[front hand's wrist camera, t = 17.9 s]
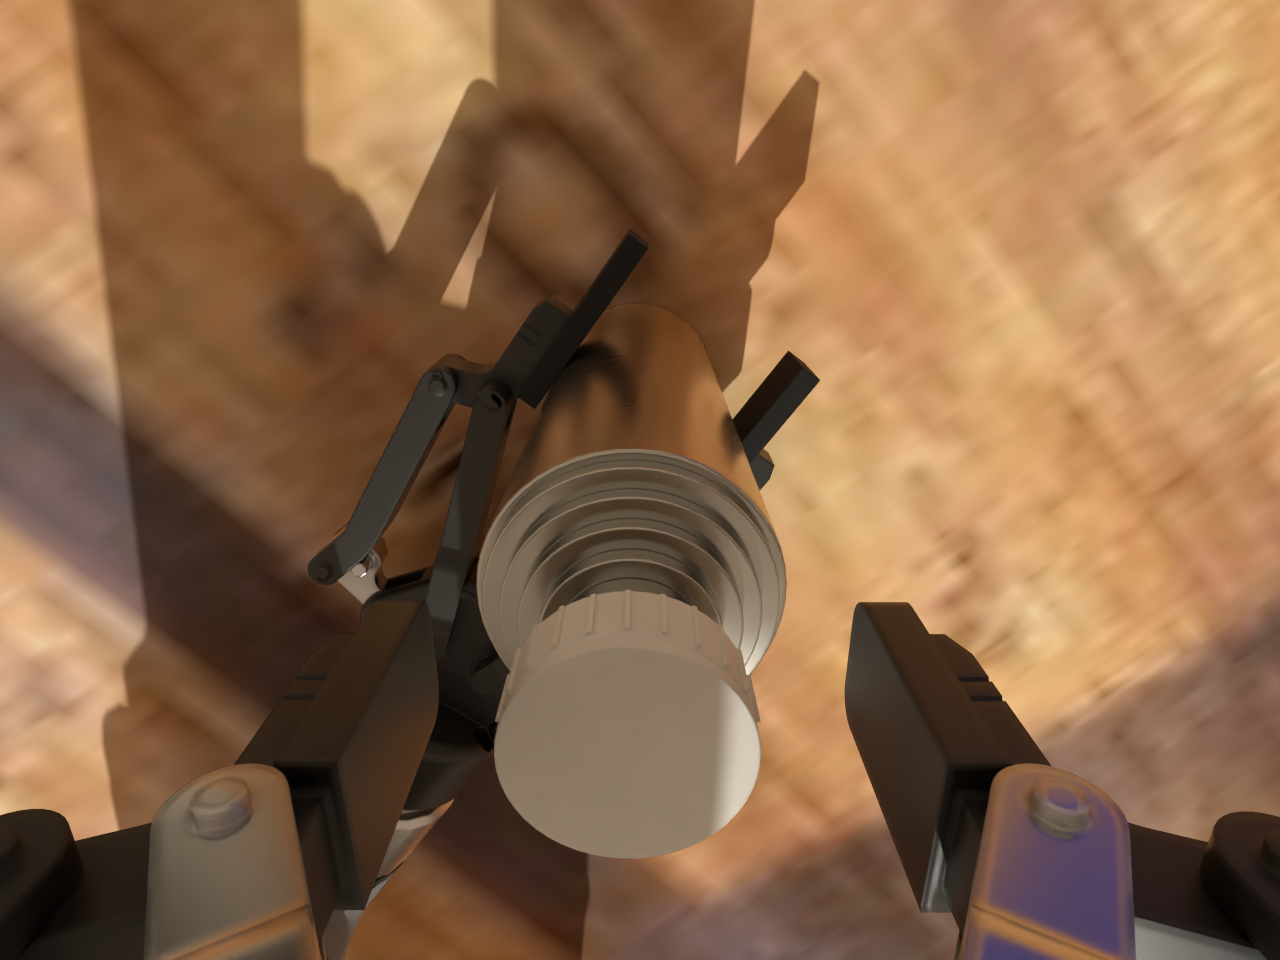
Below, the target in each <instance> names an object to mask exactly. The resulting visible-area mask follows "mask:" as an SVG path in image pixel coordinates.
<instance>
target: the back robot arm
mask: <svg viewBox="0 0 1280 960" xmlns="http://www.w3.org/2000/svg"><path fill="white" fill-rule="evenodd" d="M647 249H648V244H647V242H646V241H645V240H644V239H642V238H641V237H640V236H638V235H637V234H636V233H634V232H633V231H632V230H629V231H628V232H627V234H626V235H625V237H624V238H623V240H622V241H621V243H620V244H619V246H618V247H617V248H616V250H615V251H614V253H613V254H612V256H611V257H610V259H609V260H608V261H607V263H606V264H605V266H604V267H603V269H602V270H601V272H600V273H599V274H598V276H597V277H596V279H595V280H594V282H593V283H592V285H591V286H590V288H589V289H588V290H587V292H586V293H585V295H584V296H583V298H582V299H581V301H580V302H579V303H578V305H577V306H576V308H575V309H574V311H572V310H571V309H570V308H568V307H567V306H566V305H564V304H563V303H561V302H560V301H559V300H557V299H556V298H554V297H553V296H552V295H550V296H549V297H547V298H546V299H544V300H542V301H541V302H539V303H538V304H537V305H536V307H535V308H534V309H533V310H532V312H531V313H530V315H529V316H528V318H527V319H526V321H525V322H524V324H523V325H522V327H521V328H520V330H519V331H518V333H517V334H516V336H515V337H514V339H513V340H512V342H511V343H510V344H509V346H508V347H507V349H506V350H505V352H504V353H503V355H502V356H501V358H500V359H499V361H497V362H496V363H493V364H490V365H481V364H477V363H473V362H470V361H467V360H466V359H464V358H463V357H462V356H460V355H457V354H448V355H446V356H444V357H442V358H441V359H440V360H439V361H438V362H437V363H436V364H434V365H433V366H432V367H431V368H430V369H429V370H428V371H426V372H425V374H424V375H423V376H422V378H421V380H420V382H419V384H418V386H417V388H416V390H415V392H414V393H413V395H412V397H411V399H410V401H409V403H408V405H407V407H406V409H405V411H404V413H403V415H402V417H401V419H400V421H399V423H398V425H397V427H396V429H395V431H394V433H393V435H392V437H391V439H390V441H389V443H388V445H387V447H386V449H385V451H384V453H383V455H382V457H381V459H380V461H379V463H378V465H377V467H376V469H375V471H374V473H373V475H372V477H371V479H370V481H369V483H368V485H367V487H366V489H365V491H364V493H363V495H362V497H361V499H360V501H359V503H358V505H357V507H356V509H355V511H354V513H353V515H352V517H351V519H350V521H349V522H347V523H346V524H345V525H344V526H343V527H342V528H340V529H339V530H338V531H337V532H336V533H335V534H334V535H333V536H332V537H331V538H330V540H329V541H328V542H327V543H326V544H325V545H324V546H323V548H322V549H321V550H320V551H319V552H318V553H317V554H316V556H315V557H314V558H313V559H312V560H311V562H310V563H309V565H308V572H309V575H310V576H311V578H312V579H313V580H314V581H316V582H317V583H320V584H323V585H329V584H333V583H335V582H336V581H338V582H339V583H340V584H342V585H343V586H344V587H345V588H346V589H347V590H348V591H349V592H350V593H351V594H352V595H353V596H355V597H356V598H357V599H358V600H359V601H360V602H361V603H362V604H363V606H362V609H361V614H360V619H361V623H362V621H363V620H364V618H365V617H366V615H367V613H368V612H369V610H370V609H371V607H372V606H373V604H374V603H375V602H377V601H424V602H426V603H427V605H428V607H429V610H430V615H431V623H432V632H433V640H434V648H435V657H436V665H437V674H438V683H439V703H438V711H437V717H436V721H435V725H434V728H433V730H432V733H431V736H430V738H429V741H428V744H427V746H426V749H425V752H424V754H423V757H422V759H421V762H420V765H419V767H418V770H417V773H416V775H415V778H414V781H413V783H412V786H411V788H410V791H409V794H408V796H407V799H406V802H405V804H404V807H403V810H402V812H401V815H400V817H399V820H398V823H397V825H396V828H395V831H394V833H393V836H392V839H391V841H390V844H389V846H388V849H387V852H386V854H385V857H384V860H383V862H382V865H381V868H380V870H379V873H378V875H377V878H376V881H375V883H374V886H373V889H372V891H371V894H370V897H369V899H368V902H367V905H366V907H367V906H368V905H369V903H370V902H371V901H372V900H373V898H374V897H375V896H376V895H377V893H378V892H379V891H380V890H381V888H382V887H383V886H384V885H385V883H386V882H387V881H388V880H389V878H390V877H391V876H392V875H393V874H394V872H395V871H396V870H397V869H398V868H399V867H400V865H401V864H402V863H403V862H404V860H405V859H406V858H407V857H408V855H409V854H410V853H411V852H412V851H413V850H414V848H415V847H416V846H417V845H418V844H419V842H420V841H421V840H422V839H423V838H424V837H425V835H426V834H427V833H428V832H429V831H430V829H431V828H432V827H433V826H434V825H435V823H436V822H437V821H438V820H439V819H440V818H441V816H442V815H443V814H444V813H445V812H446V810H447V809H448V808H449V807H450V806H451V804H452V803H453V801H454V799H455V798H456V797H457V796H458V795H459V794H460V793H461V792H462V791H463V790H464V789H465V787H466V786H467V785H468V784H469V783H470V781H471V780H472V779H473V778H474V776H475V775H476V774H477V773H478V772H479V770H480V769H481V768H482V767H483V766H484V764H485V763H486V762H487V761H488V760H489V758H490V757H491V756H492V755H493V754H494V740H495V735H496V730H497V726H498V722H495V719H496V715H497V711H498V707H499V704H500V700H501V696H502V693H503V689H504V685H505V682H506V678H507V675H508V674H510V671H509V669H508V668H507V667H506V666H505V664H504V663H503V661H502V660H501V658H500V656H499V655H498V653H497V651H496V650H495V648H494V645H493V644H492V642H491V640H490V638H489V636H488V633H487V631H486V629H485V626H484V624H483V621H482V618H481V614H480V610H479V606H478V599H477V590H476V579H477V566H478V561H479V557H478V554H479V550H480V546H481V543H482V539H483V534H484V527H485V523H486V519H487V515H488V512H489V508H490V504H491V500H492V496H493V492H494V488H495V484H496V481H497V477H498V473H499V469H500V465H501V461H502V457H503V453H504V449H505V446H506V442H507V438H508V434H509V430H510V426H511V422H512V418H513V415H514V411H515V407H516V403H517V399H518V398H520V399H521V400H523V401H524V402H526V403H527V404H529V405H530V406H532V407H533V408H536V407H537V405H538V404H539V402H540V401H541V400H542V398H543V397H544V395H545V394H546V393H547V391H548V390H549V388H550V387H551V385H552V384H553V383H554V381H555V380H556V378H557V377H558V376H559V374H560V373H561V371H562V370H563V368H564V367H565V366H566V364H567V363H568V361H569V360H570V358H571V357H572V356H573V354H574V353H575V351H576V350H577V349H578V347H579V346H580V344H581V343H582V341H583V340H584V339H585V337H586V336H587V334H588V333H589V332H590V330H591V329H592V327H593V326H594V324H595V323H596V322H597V320H598V319H599V317H600V316H601V315H602V313H603V312H604V310H605V309H606V307H607V306H608V305H609V303H610V302H611V300H612V299H613V298H614V296H615V295H616V293H617V292H618V290H619V289H620V288H621V286H622V285H623V283H624V282H625V281H626V279H627V278H628V276H629V275H630V273H631V272H632V271H633V269H634V268H635V266H636V265H637V263H638V262H639V261H640V259H641V258H642V256H643V255H644V254H645V252H646V251H647ZM819 381H820V380H819V379H818V377H817V376H816V375H815V374H814V373H813V372H812V371H811V370H810V369H809V368H808V367H807V365H806V364H805V363H804V362H802V361H801V360H800V359H798V358H797V357H796V356H795V355H793V354H792V353H791V352H789V351H788V352H787V353H786V354H785V356H784V357H783V358H782V359H781V360H780V362H779V363H778V364H777V365H776V367H775V368H774V369H773V370H772V372H771V373H770V374H769V375H768V377H767V378H766V379H765V380H764V381H763V383H762V384H761V385H760V386H759V388H758V389H757V390H756V391H755V393H754V394H753V395H752V396H751V398H750V399H749V400H748V401H747V402H746V404H745V405H744V406H743V407H742V409H741V410H740V411H739V412H738V414H737V415H736V416H735V417H734V418H733V423H734V426H735V428H736V431H737V434H738V436H739V439H740V441H741V444H742V447H743V449H744V452H745V455H746V457H747V460H748V462H749V465H750V468H751V470H752V473H753V475H754V478H755V481H756V483H757V486H758V489H759V490H761V488H762V487H763V486H764V485H765V484H766V483H767V481H768V480H769V479H770V477H771V474H772V471H773V468H774V464H773V462H772V459H771V457H770V455H769V453H768V452H767V451H765V450H764V449H763V448H764V447H765V446H766V444H767V443H768V442H769V441H770V440H771V438H772V437H773V436H774V435H775V434H776V432H777V431H778V430H779V429H780V428H781V426H782V425H783V424H784V423H785V422H786V420H787V419H788V418H789V417H790V416H791V415H792V413H793V412H794V411H795V410H796V409H797V407H798V406H799V405H800V404H801V403H802V401H803V400H804V399H805V398H806V397H807V395H808V394H809V393H810V392H811V391H812V389H813V388H814V387H815V386H816V385H817V383H818V382H819ZM455 403H457V404H461V405H464V406H468V407H472V408H473V409H472V414H471V418H470V422H469V426H468V431H467V435H466V439H465V443H464V447H463V452H462V456H461V460H460V464H459V469H458V473H457V477H456V481H455V485H454V490H453V494H452V498H451V502H450V507H449V511H448V515H447V519H446V524H445V528H444V532H443V536H442V540H441V545H440V549H439V552H438V555H437V557H436V560H435V563H434V565H432V566H429V567H426V568H422V569H419V570H415V571H412V572H409V573H405V574H402V575H399V576H395V577H392V578H388V579H387V578H386V577H385V576H384V574H383V572H382V565H383V562H384V561H385V559H386V558H387V555H388V549H387V546H386V541H385V540H384V538H382V537H381V536H382V535H383V533H384V532H385V531H386V529H387V528H388V527H389V525H390V524H391V522H392V521H393V519H394V518H395V516H396V515H397V513H398V511H399V509H400V507H401V506H402V504H403V502H404V500H405V498H406V496H407V494H408V492H409V490H410V488H411V487H412V485H413V483H414V481H415V479H416V477H417V475H418V473H419V471H420V469H421V468H422V466H423V464H424V462H425V460H426V458H427V456H428V454H429V452H430V450H431V449H432V447H433V445H434V443H435V441H436V439H437V437H438V435H439V433H440V432H441V430H442V428H443V426H444V424H445V422H446V420H447V418H448V416H449V414H450V413H451V411H452V409H453V407H454V405H455ZM366 907H365V909H366ZM363 912H364V910H334V911H333V913H332V915H331V918H330V920H329V923H328V925H327V927H326V930H325V932H324V934H323V937H322V940H323V944H324V949H325V954H326V959H327V960H343V957H344V955H345V952H346V950H347V947H348V944H349V942H350V939H351V937H352V934H353V931H354V929H355V927H356V925H357V923H358V921H359V919H360V917H361V915H362V914H363Z"/></svg>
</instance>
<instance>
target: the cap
mask: <svg viewBox="0 0 1280 960" xmlns="http://www.w3.org/2000/svg"><path fill="white" fill-rule="evenodd" d="M495 722H498V726H497V730H496V735H495V740H494V759H495V767H496V771H497V774H498V778H499V781H500V784H501V786H502V788H503V790H504V792H505V794H506V796H507V798H508V799H509V801H510V802H511V804H512V805H513V807H514V808H515V809H516V810H517V811H518V813H519V814H520V815H521V816H522V817H523V818H524V819H525V820H526V821H527V822H528V823H529V824H531V825H532V826H533V827H534V828H535V829H537V830H538V831H540V832H541V833H543V834H544V835H546V836H547V837H549V838H551V839H552V840H554V841H556V842H558V843H560V844H562V845H565V846H567V847H570V848H572V849H575V850H578V851H581V852H585V853H588V854H592V855H598V856H604V857H611V858H645V857H653V856H659V855H664V854H668V853H673V852H676V851H679V850H682V849H684V848H687V847H690V846H692V845H694V844H696V843H698V842H701V841H703V840H704V839H706V838H707V837H709V836H711V835H712V834H714V833H716V832H717V831H718V830H719V829H721V828H722V827H723V826H725V825H726V824H727V823H728V822H729V821H730V820H731V819H732V818H733V817H734V816H735V815H736V814H737V813H738V812H739V810H740V809H741V808H742V806H743V805H744V804H745V802H746V801H747V799H748V797H749V795H750V793H751V792H752V790H753V787H754V785H755V782H756V779H757V776H758V772H759V767H760V762H761V744H760V737H759V731H758V726H757V722H760V717H759V712H758V708H757V703H756V699H755V694H754V689H753V685H752V680H751V676H750V674H749V675H747V674H746V669H745V665H744V660H743V655H742V651H741V649H740V648H736V647H735V645H734V644H733V642H732V641H731V639H730V638H729V636H728V635H727V634H726V633H725V632H724V627H723V626H722V625H721V624H719V625H717V624H716V623H715V622H714V621H713V620H711V619H710V618H709V617H708V616H707V615H705V614H703V613H702V612H700V611H699V610H698V607H696V606H694V605H693V606H690V605H688V604H686V603H683V602H681V601H679V600H676V599H673V598H670V597H667V596H666V595H665V594H662V593H661V594H660V595H659V594H654V593H649V592H637V591H631V590H625V591H617V592H609V593H602V594H597V595H596V593H594V594H591V596H590V597H586V598H583V599H581V600H578V601H576V602H573V603H571V604H569V605H567V606H565V607H564V605H562V606H560V607H559V610H558V611H556V612H555V613H553V614H552V615H551V616H549V617H548V618H547V619H545V620H544V621H543V622H542V623H541V624H540V625H538V624H536V625H535V626H534V627H533V630H532V633H531V634H530V636H529V637H528V638H527V639H526V641H525V642H524V644H523V646H522V647H521V649H520V648H517V649H516V651H515V655H514V659H513V662H512V666H511V670H510V674H508V675H507V678H506V682H505V685H504V689H503V693H502V696H501V700H500V704H499V707H498V711H497V715H496V719H495Z"/></svg>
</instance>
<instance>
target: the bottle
mask: <svg viewBox="0 0 1280 960" xmlns="http://www.w3.org/2000/svg"><path fill="white" fill-rule="evenodd" d="M786 586H787V581H786V569H785V562H784V558H783V554H782V550H781V546H780V544H779V541H778V538H777V536H776V533H775V530H774V528H773V525H772V523H771V520H770V517H769V515H768V512H767V510H766V507H765V504H764V502H763V499H762V496H761V494H760V491H759V489H758V486H757V483H756V481H755V478H754V475H753V473H752V470H751V468H750V465H749V462H748V460H747V457H746V455H745V452H744V449H743V447H742V444H741V441H740V439H739V436H738V434H737V431H736V428H735V426H734V423H733V420H732V418H731V415H730V413H729V410H728V407H727V405H726V402H725V400H724V397H723V394H722V392H721V389H720V386H719V384H718V381H717V379H716V376H715V373H714V371H713V368H712V365H711V363H710V360H709V358H708V355H707V352H706V350H705V348H704V345H703V343H702V342H701V340H700V338H699V336H698V335H697V334H696V332H695V331H694V330H693V329H692V328H691V327H690V326H689V325H688V324H687V323H686V322H685V321H684V320H683V319H681V318H680V317H679V316H677V315H675V314H674V313H672V312H670V311H668V310H665V309H663V308H660V307H657V306H653V305H648V304H625V305H619V306H616V307H613V308H610V309H607V310H605V311H604V312H603V313H602V315H601V316H600V317H599V319H598V320H597V322H596V323H595V324H594V326H593V327H592V329H591V330H590V332H589V333H588V334H587V336H586V337H585V339H584V340H583V341H582V343H581V344H580V346H579V347H578V349H577V350H576V351H575V353H574V354H573V356H572V357H571V358H570V360H569V361H568V363H567V364H566V366H565V367H564V368H563V370H562V371H561V373H560V374H559V376H558V377H557V378H556V380H555V381H554V383H553V384H552V386H551V388H550V390H549V393H548V395H547V397H546V400H545V402H544V404H543V406H542V409H541V411H540V413H539V416H538V418H537V420H536V422H535V425H534V427H533V429H532V431H531V434H530V436H529V438H528V441H527V443H526V445H525V447H524V450H523V452H522V454H521V456H520V459H519V461H518V463H517V466H516V468H515V470H514V472H513V475H512V477H511V479H510V482H509V484H508V486H507V488H506V491H505V493H504V495H503V497H502V500H501V502H500V504H499V507H498V509H497V511H496V513H495V516H494V518H493V520H492V522H491V525H490V527H489V529H488V532H487V534H486V537H485V540H484V542H483V545H482V548H481V551H480V556H479V561H478V566H477V579H476V590H477V599H478V606H479V610H480V614H481V618H482V621H483V624H484V626H485V629H486V631H487V633H488V636H489V638H490V640H491V642H492V644H493V645H494V648H495V650H496V651H497V653H498V655H499V656H500V658H501V660H502V661H503V663H504V664H505V666H506V667H507V668H508V669H509V671H510V670H511V666H512V662H513V659H514V655H515V651H516V649H517V648H520V649H521V647H522V646H523V644H524V642H525V641H526V639H527V638H528V637H529V636H530V634H531V633H532V630H533V627H534V626H535V625H536V624H538V625H540V624H541V623H542V622H543V621H544V620H545V619H547V618H548V617H549V616H551V615H552V614H553V613H555V612H556V611H558V610H559V607H560V606H562V605H564V607H565V606H567V605H569V604H571V603H573V602H576V601H578V600H581V599H583V598H586V597H590V596H591V594H594V593H596V595H597V594H602V593H609V592H617V591H625V590H631V591H637V592H649V593H654V594H659V595H660V594H661V593H662V594H665V595H666V596H667V597H670V598H673V599H676V600H679V601H681V602H683V603H686V604H688V605H690V606H693V605H694V606H696V607H698V610H699V611H700V612H702V613H703V614H705V615H707V616H708V617H709V618H710V619H711V620H713V621H714V622H715V623H716V624H717V625H719V624H721V625H722V626H723V627H724V632H725V633H726V634H727V635H728V636H729V638H730V639H731V641H732V642H733V644H734V645H735V647H736V648H740V649H741V651H742V655H743V660H744V665H745V669H746V674H747V675H749V674H750V675H751V674H752V672H753V671H754V670H755V668H756V667H757V665H758V664H759V663H760V661H761V660H762V658H763V656H764V654H765V653H766V651H767V650H768V648H769V646H770V644H771V642H772V640H773V639H774V637H775V635H776V632H777V630H778V627H779V624H780V622H781V619H782V615H783V610H784V606H785V601H786Z"/></svg>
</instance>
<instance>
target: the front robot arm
mask: <svg viewBox="0 0 1280 960" xmlns="http://www.w3.org/2000/svg"><path fill="white" fill-rule="evenodd" d="M988 678H989V677H988V676H987V674H986V673H985V671H984V670H983V669H982V667H981V666H980V664H979V663H978V661H977V660H976V659H975V657H974V656H973V654H971V653H970V652H969V651H967V650H966V649H965V648H963V647H962V646H960V645H959V644H958V643H956V642H955V641H953V640H952V639H951V638H949V637H948V636H946V635H945V634H929V633H928V631H927V630H926V628H925V626H924V625H923V623H922V622H921V620H920V619H919V617H918V616H917V614H916V612H915V611H914V609H913V608H912V606H911V605H910V604H909V603H907V602H860V603H858V604H857V605H856V608H855V611H854V615H853V623H852V631H851V639H850V648H849V656H848V664H847V673H846V681H845V707H846V714H847V720H848V723H849V727H850V730H851V732H852V735H853V737H854V740H855V743H856V745H857V748H858V750H859V753H860V756H861V758H862V761H863V763H864V766H865V769H866V771H867V774H868V776H869V779H870V781H871V784H872V787H873V789H874V792H875V794H876V797H877V800H878V802H879V805H880V807H881V810H882V813H883V815H884V818H885V820H886V823H887V826H888V828H889V831H890V833H891V836H892V839H893V841H894V844H895V846H896V849H897V852H898V854H899V857H900V859H901V862H902V865H903V867H904V870H905V872H906V875H907V877H908V880H909V883H910V885H911V888H912V890H913V893H914V896H915V898H916V901H917V903H918V906H919V909H920V911H921V912H952V914H953V916H954V918H955V921H956V923H957V925H958V928H959V935H958V940H957V944H956V949H955V954H954V959H953V960H1280V817H1277V816H1273V815H1269V814H1264V813H1257V812H1235V813H1230V814H1227V815H1225V816H1223V817H1222V818H1220V819H1219V820H1218V821H1217V822H1216V824H1215V826H1214V828H1213V831H1212V834H1211V837H1210V839H1209V842H1204V841H1200V840H1196V839H1191V838H1187V837H1183V836H1179V835H1175V834H1170V833H1166V832H1162V831H1158V830H1153V829H1149V828H1145V827H1142V826H1138V825H1134V824H1131V823H1128V822H1127V820H1126V817H1125V815H1124V814H1123V812H1122V811H1121V809H1120V808H1119V806H1118V805H1117V804H1116V803H1115V802H1114V801H1113V800H1112V799H1111V798H1110V797H1109V796H1108V795H1107V794H1106V793H1105V792H1103V791H1102V790H1101V789H1099V788H1098V787H1097V786H1095V785H1094V784H1092V783H1090V782H1089V781H1087V780H1085V779H1084V778H1082V777H1079V776H1077V775H1075V774H1073V773H1071V772H1068V771H1065V770H1062V769H1059V768H1056V767H1052V766H1051V765H1050V763H1049V762H1048V761H1047V759H1046V758H1045V756H1044V755H1043V754H1042V752H1041V751H1040V749H1039V748H1038V746H1037V745H1036V744H1035V742H1034V741H1033V739H1032V738H1031V737H1030V735H1029V734H1028V732H1027V731H1026V729H1025V728H1024V727H1023V725H1022V724H1021V722H1020V721H1019V720H1018V718H1017V717H1016V715H1015V714H1014V712H1013V711H1012V710H1011V708H1010V707H1009V705H1008V704H1007V703H1006V701H1002V695H1001V694H1000V693H999V691H998V690H997V688H996V687H995V686H994V684H993V683H992V682H989V679H988ZM438 703H439V683H438V674H437V665H436V657H435V648H434V640H433V632H432V623H431V615H430V610H429V607H428V605H427V603H426V602H424V601H377V602H375V603H374V604H373V606H372V607H371V609H370V610H369V612H368V613H367V615H366V617H365V618H364V620H363V621H362V623H361V625H360V626H359V628H358V629H357V631H356V632H355V633H339V634H338V635H336V636H335V637H334V638H332V639H331V640H329V641H328V642H327V643H325V644H324V645H322V646H321V647H320V648H318V649H317V650H316V651H314V652H313V653H312V654H311V655H310V657H309V658H308V660H307V661H306V663H305V664H304V665H303V667H302V668H301V670H300V671H299V673H298V674H297V675H296V680H293V681H292V683H291V684H290V685H289V687H288V688H287V690H286V691H285V693H284V694H283V699H282V700H279V701H278V703H277V704H276V706H275V707H274V708H273V710H272V711H271V713H270V714H269V716H268V717H267V718H266V720H265V721H264V723H263V724H262V726H261V727H260V728H259V730H258V731H257V733H256V734H255V736H254V737H253V738H252V740H251V741H250V743H249V744H248V746H247V747H246V749H245V750H244V751H243V753H242V754H241V756H240V757H239V759H238V760H237V761H236V763H235V764H234V765H232V766H228V767H224V768H221V769H218V770H215V771H212V772H209V773H207V774H205V775H203V776H201V777H198V778H196V779H195V780H193V781H191V782H190V783H188V784H186V785H185V786H183V787H182V788H181V789H179V790H178V791H177V792H175V793H174V794H173V795H172V796H171V797H170V798H169V799H168V800H167V801H166V802H165V803H164V804H163V805H162V806H161V808H160V809H159V811H158V812H157V814H156V815H155V817H154V820H153V822H152V823H148V824H144V825H141V826H137V827H132V828H128V829H124V830H120V831H115V832H111V833H107V834H103V835H98V836H94V837H90V838H86V839H82V840H77V841H75V840H74V837H73V835H72V832H71V829H70V826H69V824H68V822H67V820H66V819H65V817H64V816H62V815H61V814H59V813H57V812H54V811H52V810H45V809H28V810H21V811H16V812H11V813H7V814H3V815H0V960H327V959H326V954H325V949H324V944H323V940H322V937H323V934H324V932H325V930H326V927H327V925H328V923H329V920H330V918H331V915H332V913H333V911H334V910H365V907H366V905H367V902H368V899H369V897H370V894H371V891H372V889H373V886H374V883H375V881H376V878H377V875H378V873H379V870H380V868H381V865H382V862H383V860H384V857H385V854H386V852H387V849H388V846H389V844H390V841H391V839H392V836H393V833H394V831H395V828H396V825H397V823H398V820H399V817H400V815H401V812H402V810H403V807H404V804H405V802H406V799H407V796H408V794H409V791H410V788H411V786H412V783H413V781H414V778H415V775H416V773H417V770H418V767H419V765H420V762H421V759H422V757H423V754H424V752H425V749H426V746H427V744H428V741H429V738H430V736H431V733H432V730H433V728H434V725H435V721H436V717H437V711H438Z"/></svg>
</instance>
